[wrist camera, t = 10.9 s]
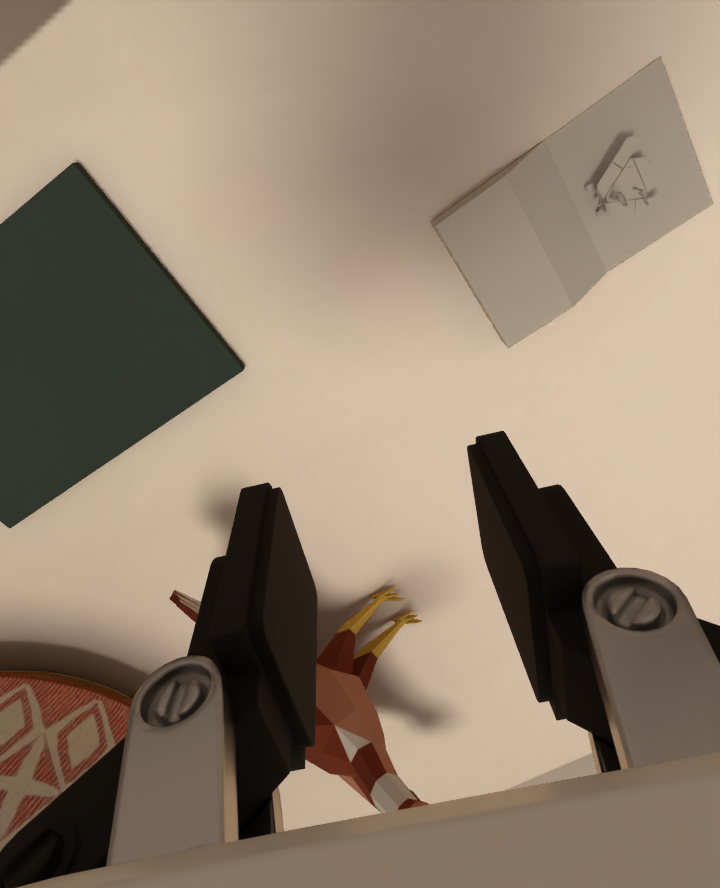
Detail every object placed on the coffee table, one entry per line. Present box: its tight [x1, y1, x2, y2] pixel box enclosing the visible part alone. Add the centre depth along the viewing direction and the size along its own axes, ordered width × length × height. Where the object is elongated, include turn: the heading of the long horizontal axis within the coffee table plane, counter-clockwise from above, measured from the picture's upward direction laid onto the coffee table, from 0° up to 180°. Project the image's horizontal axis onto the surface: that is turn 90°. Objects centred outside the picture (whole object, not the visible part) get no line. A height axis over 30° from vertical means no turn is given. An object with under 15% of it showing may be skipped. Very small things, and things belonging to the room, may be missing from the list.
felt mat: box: [0, 163, 245, 528], centre depth 31 cm, size 12×18×1 cm, turn 123°
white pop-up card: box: [431, 57, 713, 348], centre depth 27 cm, size 7×12×2 cm, turn 125°
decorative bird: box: [170, 587, 429, 813], centre depth 35 cm, size 28×18×15 cm, turn 33°
